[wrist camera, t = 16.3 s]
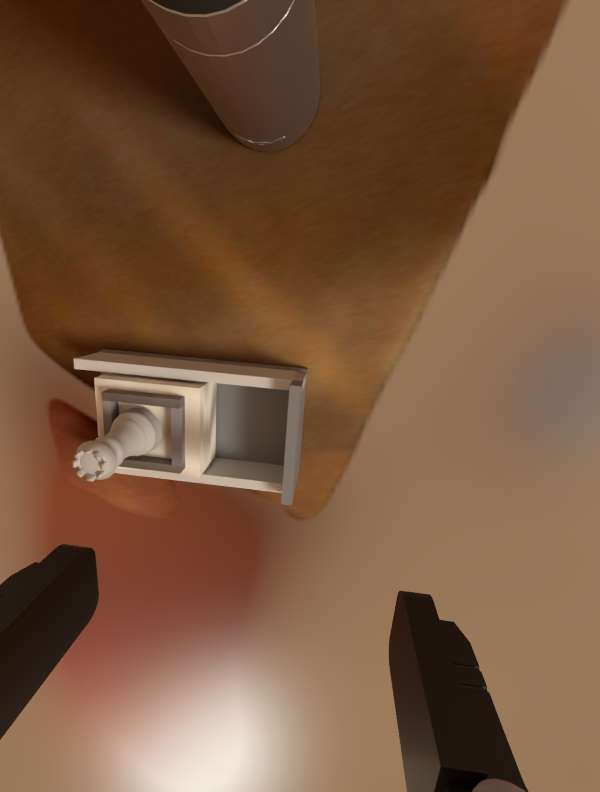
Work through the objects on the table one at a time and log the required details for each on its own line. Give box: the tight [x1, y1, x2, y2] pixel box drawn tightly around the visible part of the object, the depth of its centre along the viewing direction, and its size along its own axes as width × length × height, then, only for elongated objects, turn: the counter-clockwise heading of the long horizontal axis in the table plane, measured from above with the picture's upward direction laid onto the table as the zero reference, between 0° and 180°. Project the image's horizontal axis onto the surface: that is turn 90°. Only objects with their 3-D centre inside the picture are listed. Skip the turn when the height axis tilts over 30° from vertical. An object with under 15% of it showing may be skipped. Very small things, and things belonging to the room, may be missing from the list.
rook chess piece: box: [72, 407, 162, 481], centre depth 31 cm, size 4×4×8 cm
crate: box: [94, 372, 217, 478], centre depth 37 cm, size 9×10×6 cm
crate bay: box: [74, 349, 308, 505], centre depth 38 cm, size 12×22×7 cm, turn 85°
